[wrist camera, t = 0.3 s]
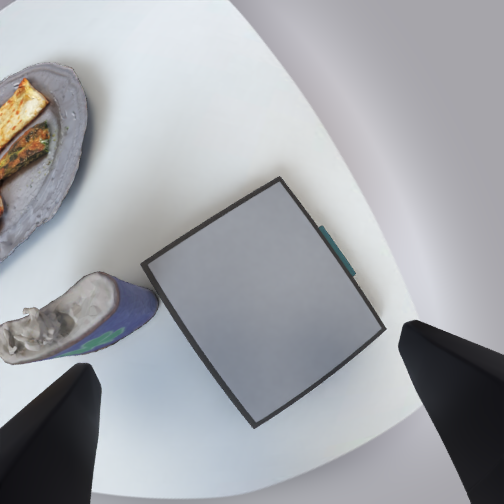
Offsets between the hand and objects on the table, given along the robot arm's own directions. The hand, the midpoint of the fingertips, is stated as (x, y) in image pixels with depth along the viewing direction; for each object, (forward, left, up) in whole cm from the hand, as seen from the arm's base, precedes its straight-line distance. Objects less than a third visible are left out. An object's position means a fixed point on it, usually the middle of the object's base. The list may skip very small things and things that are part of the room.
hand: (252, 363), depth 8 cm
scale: (+1, -3, -14) cm, 15 cm away
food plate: (+27, +13, -15) cm, 33 cm away
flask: (+6, +8, -15) cm, 18 cm away
